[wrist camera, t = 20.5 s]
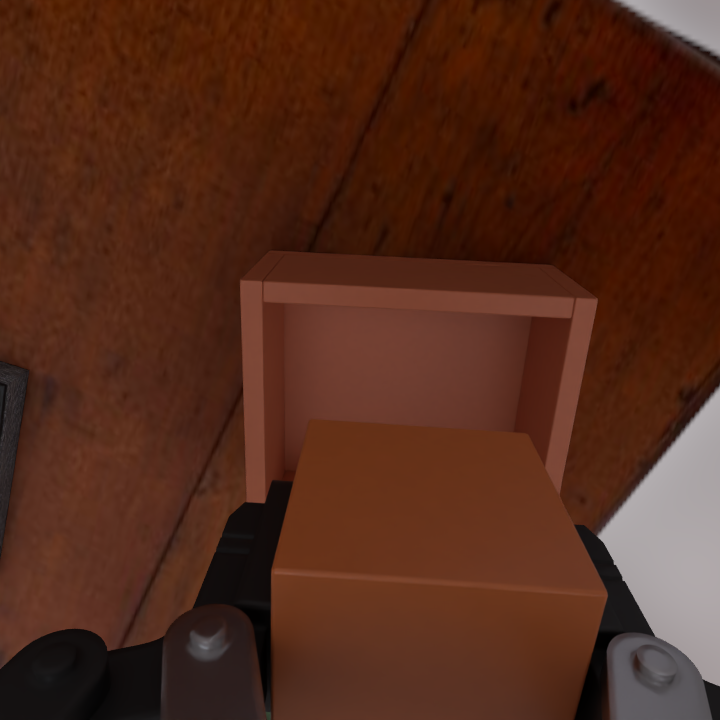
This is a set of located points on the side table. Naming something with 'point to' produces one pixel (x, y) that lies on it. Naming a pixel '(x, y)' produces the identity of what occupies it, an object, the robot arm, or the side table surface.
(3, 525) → the picture frame
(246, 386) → the terracotta bin
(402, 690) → the block
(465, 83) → the side table surface
